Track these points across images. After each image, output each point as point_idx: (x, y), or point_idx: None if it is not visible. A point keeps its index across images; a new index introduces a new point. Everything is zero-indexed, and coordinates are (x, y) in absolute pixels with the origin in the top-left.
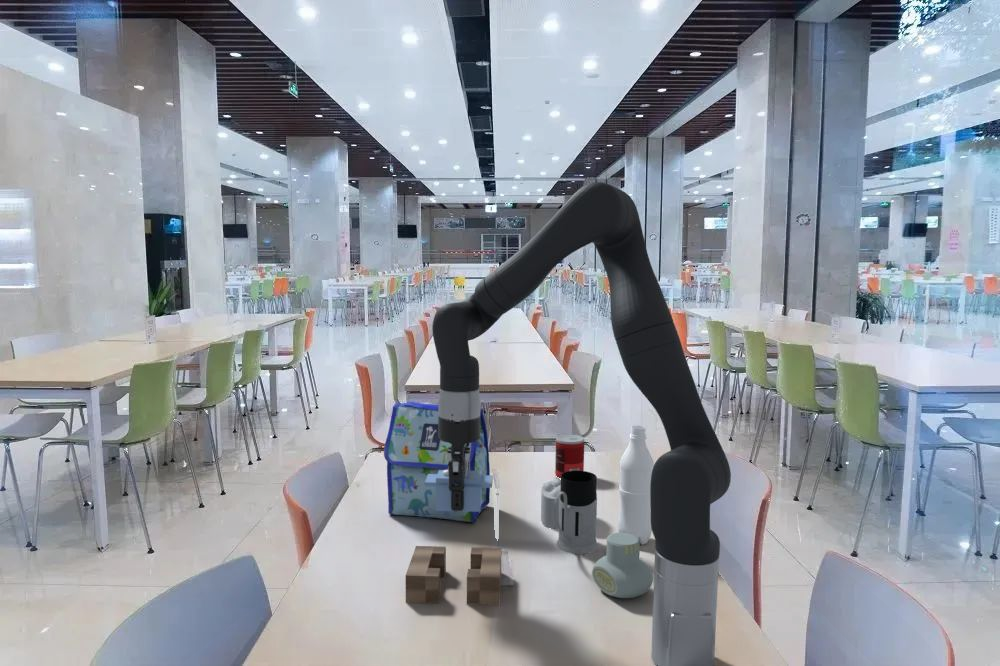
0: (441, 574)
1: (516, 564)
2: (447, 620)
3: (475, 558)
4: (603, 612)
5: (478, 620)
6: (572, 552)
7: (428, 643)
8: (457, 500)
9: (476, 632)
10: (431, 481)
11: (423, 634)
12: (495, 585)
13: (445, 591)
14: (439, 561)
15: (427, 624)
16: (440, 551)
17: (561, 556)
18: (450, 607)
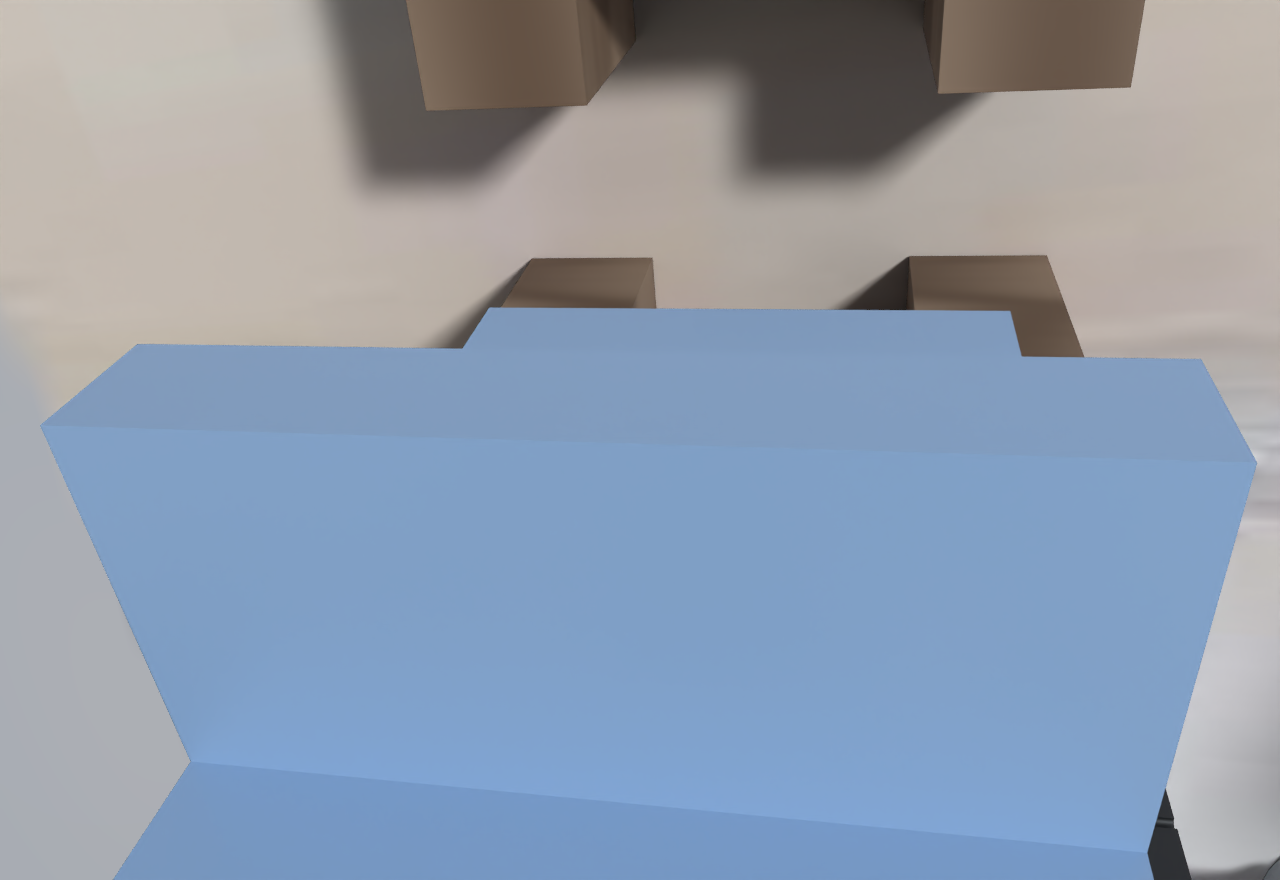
0: (927, 11)
1: None
2: (301, 150)
3: None
4: None
5: (357, 342)
6: (1278, 866)
7: (18, 64)
8: None
9: (233, 337)
10: (228, 645)
11: (92, 9)
12: None
13: (696, 75)
14: (936, 18)
15: (211, 14)
16: (993, 44)
17: (1237, 806)
18: (466, 149)
